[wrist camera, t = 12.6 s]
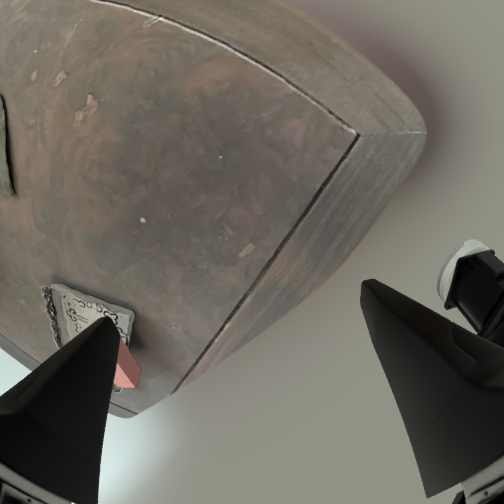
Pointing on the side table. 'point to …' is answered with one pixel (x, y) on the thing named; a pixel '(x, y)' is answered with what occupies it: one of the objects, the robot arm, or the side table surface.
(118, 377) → the eraser
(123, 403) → the side table surface
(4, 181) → the stone
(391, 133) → the side table surface
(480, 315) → the robot arm
